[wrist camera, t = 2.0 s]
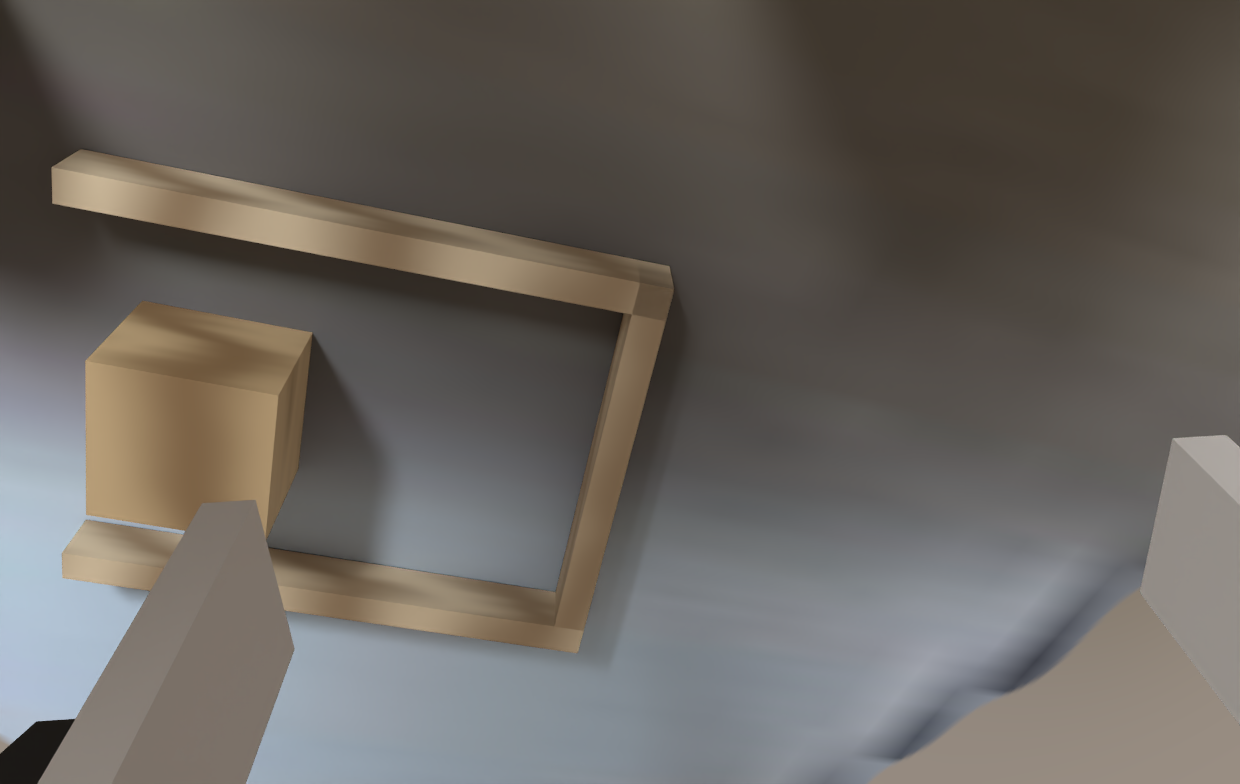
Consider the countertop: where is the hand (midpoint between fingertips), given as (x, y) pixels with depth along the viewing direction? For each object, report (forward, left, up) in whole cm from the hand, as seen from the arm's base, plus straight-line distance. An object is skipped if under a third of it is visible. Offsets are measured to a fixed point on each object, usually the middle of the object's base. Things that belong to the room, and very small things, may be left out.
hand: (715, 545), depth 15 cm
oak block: (-13, -12, -23) cm, 29 cm away
